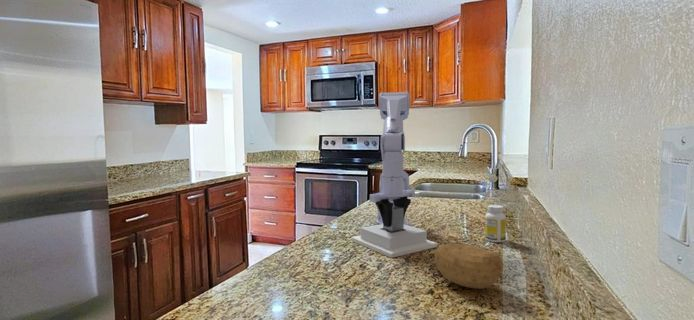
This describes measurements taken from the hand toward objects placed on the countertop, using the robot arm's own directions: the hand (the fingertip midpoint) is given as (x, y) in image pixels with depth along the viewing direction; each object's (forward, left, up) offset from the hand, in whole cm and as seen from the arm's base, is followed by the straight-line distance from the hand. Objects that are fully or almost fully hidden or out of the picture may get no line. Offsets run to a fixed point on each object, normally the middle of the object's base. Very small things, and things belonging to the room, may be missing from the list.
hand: (392, 225), depth 102 cm
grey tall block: (0, 0, -3) cm, 3 cm away
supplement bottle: (+14, +26, -5) cm, 30 cm away
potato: (+30, -6, -6) cm, 31 cm away
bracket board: (0, 0, -5) cm, 5 cm away
